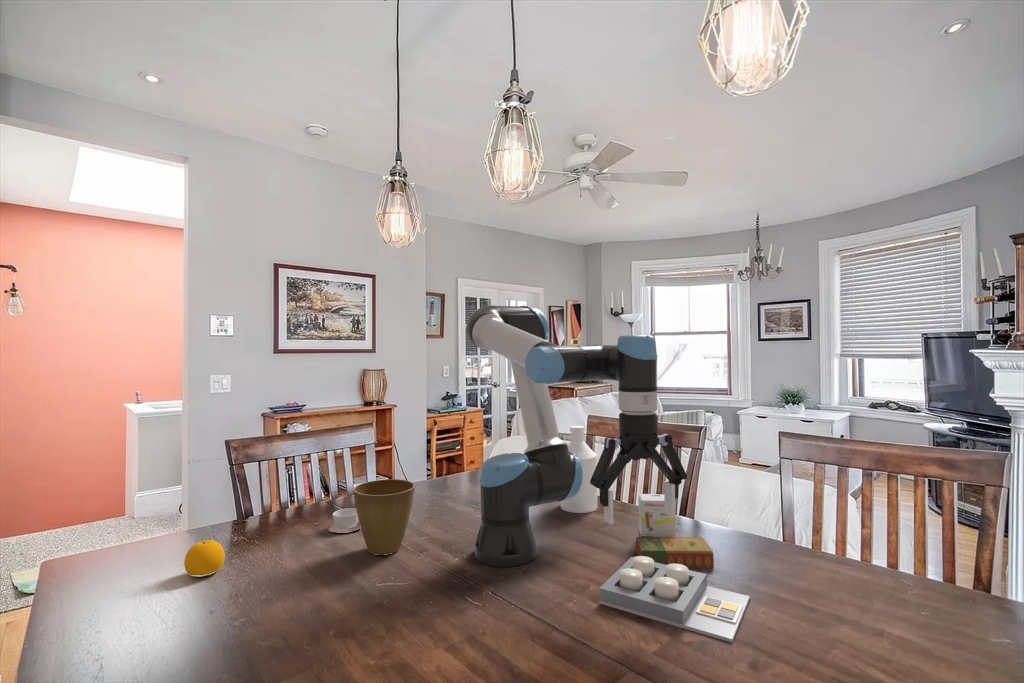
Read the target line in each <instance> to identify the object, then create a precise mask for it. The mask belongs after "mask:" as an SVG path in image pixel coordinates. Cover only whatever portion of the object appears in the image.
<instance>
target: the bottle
mask: <svg viewBox="0 0 1024 683" xmlns="http://www.w3.org/2000/svg"><path fill="white" fill-rule="evenodd" d="M585 430H586V429H585V425H571V426H569V431H570V438H571V440H570V442H569V443H568V444H567V446H568V450H569V451H570V452H573V453H575V454H576V455H577V457H578V458H579V459H580V461H581V464H582V468H583V481H582V485H581V486H580V490H579V492H578V493H577V494H576V495H575V496H574V497H572V498H568V499H565V500H563V501H559V502H560V508H561V510H563V511H565V512H568V513H574V514H587V513H592V512H594V511H596V510H597V509H598V488H596V487H594V486H593V485H591V484H590V480H591V478H592V475H593V473H594V471H595V468H596V466H597V464H598V455H597V453H596V452H595V451H594V450H592V449H591V447H589V445H588V444H587V443H586V442H585V441H584V440H585V437H584V434H585Z"/></svg>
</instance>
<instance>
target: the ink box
mask: <svg viewBox="0 0 1024 683" xmlns="http://www.w3.org/2000/svg"><path fill="white" fill-rule="evenodd" d="M637 498H638V537H677V526H676V525H677V523H676V522H677V520H676V516H677V514H676V513H675V517H671V516H669V515H667V514H666V513H665V501H664V493H662V494H661V493H660V494H656V493H653V494H652V493H640V494H639V495H638V497H637Z"/></svg>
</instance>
